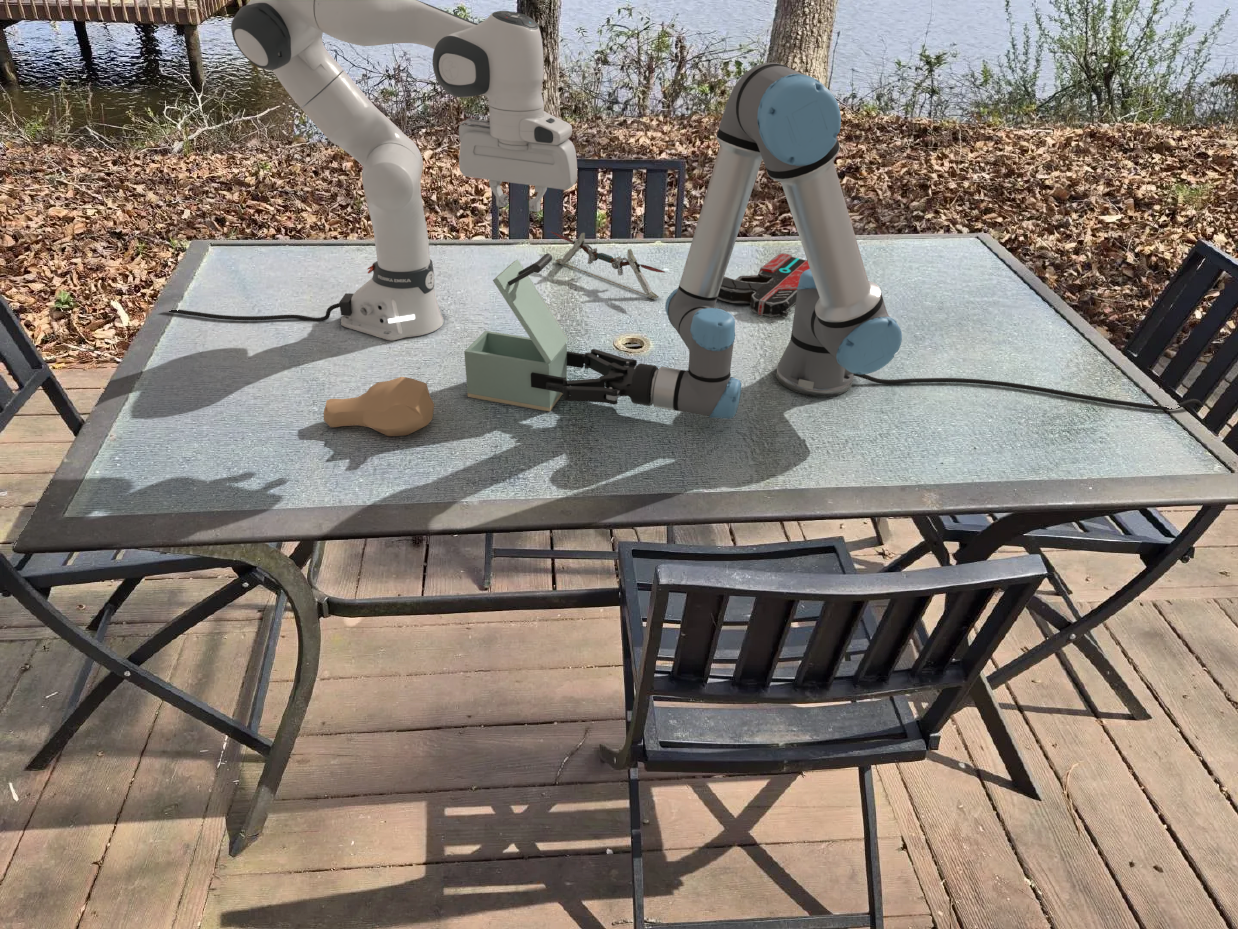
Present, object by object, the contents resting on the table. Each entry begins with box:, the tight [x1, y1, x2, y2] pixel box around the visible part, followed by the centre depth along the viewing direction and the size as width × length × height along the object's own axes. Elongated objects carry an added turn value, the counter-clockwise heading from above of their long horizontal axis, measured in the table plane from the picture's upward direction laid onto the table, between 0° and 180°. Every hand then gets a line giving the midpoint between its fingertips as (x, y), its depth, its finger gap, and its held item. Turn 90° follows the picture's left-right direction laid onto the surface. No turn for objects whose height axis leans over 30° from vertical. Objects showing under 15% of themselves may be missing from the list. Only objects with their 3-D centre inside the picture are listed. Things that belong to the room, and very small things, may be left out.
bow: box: [550, 231, 666, 300], centre depth 217 cm, size 39×2×10 cm, turn 47°
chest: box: [463, 330, 568, 412], centre depth 168 cm, size 17×10×10 cm, turn 73°
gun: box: [717, 252, 810, 318], centre depth 215 cm, size 4×31×19 cm
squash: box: [323, 376, 435, 437], centre depth 157 cm, size 11×20×9 cm, turn 90°
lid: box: [492, 252, 570, 363], centre depth 158 cm, size 18×10×8 cm
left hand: (518, 208), depth 151 cm, fingers open, 5 cm apart
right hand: (541, 367), depth 166 cm, fingers closed on chest, 10 cm apart
